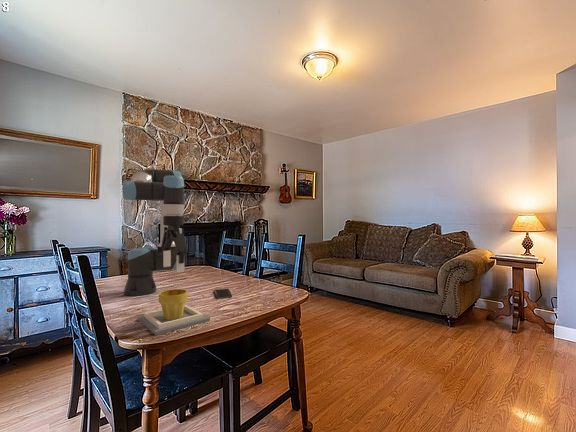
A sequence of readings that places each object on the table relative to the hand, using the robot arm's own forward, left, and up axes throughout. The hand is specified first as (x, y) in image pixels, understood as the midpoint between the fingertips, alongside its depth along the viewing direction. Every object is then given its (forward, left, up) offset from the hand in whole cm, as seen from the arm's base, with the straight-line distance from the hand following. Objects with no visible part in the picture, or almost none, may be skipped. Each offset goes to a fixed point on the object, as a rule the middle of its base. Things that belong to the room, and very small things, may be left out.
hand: (173, 269), depth 116 cm
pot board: (+3, -1, -19) cm, 19 cm away
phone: (-17, +32, -20) cm, 41 cm away
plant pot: (+3, -1, -18) cm, 18 cm away
